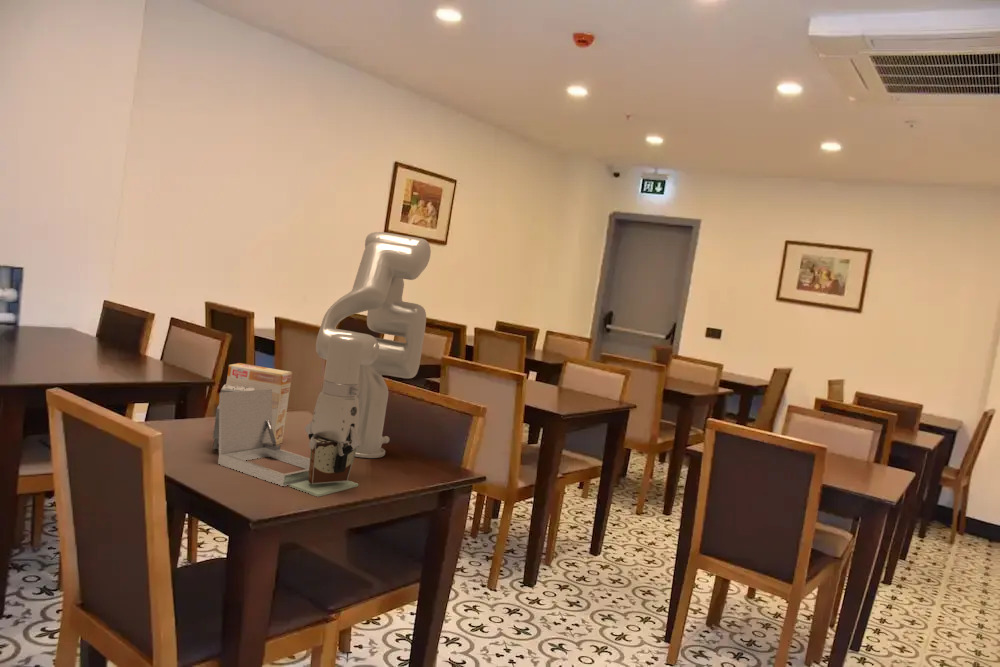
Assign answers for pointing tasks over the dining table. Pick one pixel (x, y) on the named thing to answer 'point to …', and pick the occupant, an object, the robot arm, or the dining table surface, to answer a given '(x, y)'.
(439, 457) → the dining table surface
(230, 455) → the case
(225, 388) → the circuit breaker
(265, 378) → the coffeecake box
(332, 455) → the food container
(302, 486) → the mat
